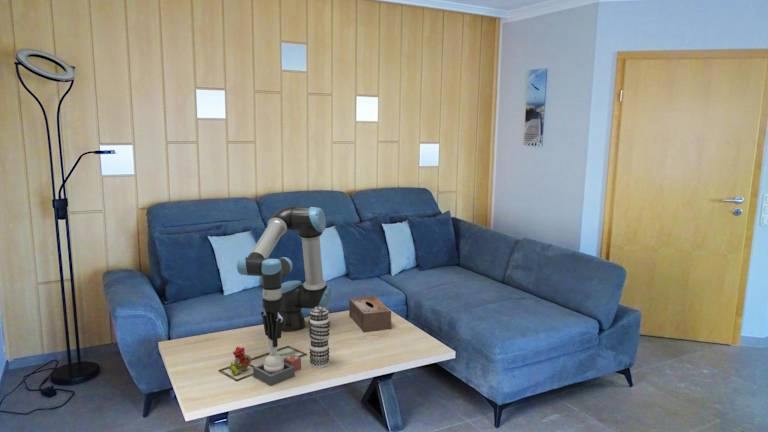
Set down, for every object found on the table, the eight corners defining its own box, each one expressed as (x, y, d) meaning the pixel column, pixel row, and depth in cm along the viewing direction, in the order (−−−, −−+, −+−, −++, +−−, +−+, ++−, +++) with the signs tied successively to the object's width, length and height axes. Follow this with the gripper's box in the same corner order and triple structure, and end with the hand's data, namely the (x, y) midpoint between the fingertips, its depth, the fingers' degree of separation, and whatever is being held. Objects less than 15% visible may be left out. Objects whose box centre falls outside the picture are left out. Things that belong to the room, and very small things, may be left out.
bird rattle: (241, 372, 235) (223, 369, 229) (250, 346, 236) (232, 343, 230) (249, 377, 230) (230, 374, 224) (257, 351, 232) (239, 348, 225)
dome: (260, 371, 226) (259, 354, 224) (276, 365, 232) (275, 348, 230) (271, 377, 220) (271, 359, 219) (287, 371, 226) (287, 354, 225)
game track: (218, 371, 231) (218, 369, 231) (288, 346, 257) (288, 345, 257) (236, 381, 222) (236, 380, 222) (306, 354, 248) (306, 353, 248)
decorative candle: (321, 370, 233) (320, 313, 229) (304, 364, 237) (303, 309, 233) (334, 362, 240) (334, 307, 236) (317, 357, 245) (317, 303, 241)
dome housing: (253, 376, 226) (252, 363, 225) (288, 363, 239) (288, 351, 238) (270, 386, 218) (270, 372, 217) (306, 371, 231) (306, 359, 230)
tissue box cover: (349, 316, 299) (349, 298, 298) (374, 313, 304) (374, 296, 302) (363, 333, 275) (364, 313, 274) (390, 329, 280) (391, 310, 279)
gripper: (254, 296, 223) (256, 351, 226) (274, 303, 214) (275, 361, 217) (270, 292, 228) (271, 346, 232) (289, 299, 219) (290, 355, 223)
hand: (273, 353), depth 225 cm, fingers closed
